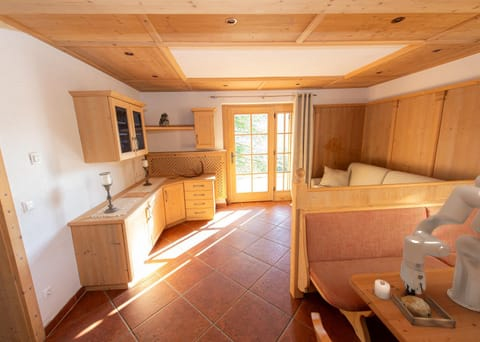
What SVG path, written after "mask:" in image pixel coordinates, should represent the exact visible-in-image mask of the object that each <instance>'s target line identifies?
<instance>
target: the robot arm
mask: <svg viewBox="0 0 480 342" xmlns="http://www.w3.org/2000/svg"><path fill="white" fill-rule="evenodd" d="M475 209H477V212H476V214H475V215H474V218H473V219H472V220H471V222H470V229H471V231H473V232H474V233H476V234H477V235H479V236H480V175H477V177H476V178H475V180H474V186H473V185H467V184H466V185H465V184H462V185H458V186H456V187H454V188H453V190H452V191H451V192H450V194H449V196H448V197H447V199H446V200H445V202H444V204H443V205H442V206H441V208H440V210H439V211H438V212H437V213H435V214H433V215H430V216H428V217H426V218H424V219H423V220H421V221H420V222H418V224H417V226H416V227H415V229H414V230H413V232H412V234H411V235H406V236H404V238H403V246H402V247H403V248H402V258H401V259H402V260H401V264H400V270H399V275H400V279H401V280H402V281H403V282H404V287H405V288H404V289H405V293H404V297H405V296H408V295H409V296H416V294H417V295H418V296H419V295H420V296H421V295H422V291H423V292H426V288H427V284H426V283H427V278H426V272H425V270H424V268H425V257H426V256H428V257H436V258H445V257H448V256H449V255H450V254H451V253H452V252H451V251H452V250H451V246H450V245H449V244H447V243H446V242H445V241H443V240H442V239H439V238H437V237H436V236H434V235H433V234H432V233H433V232H434V230H436V229H437V228H439V227H442V226H446V225H453V226H454V225H457V226H458V225H459V226H461V225H464V224H465V223H466V222H467V220H468V219H469V217H470V215H472V213H473V212H474V210H475ZM454 249H455V267H454V273H453V281H452V288H448V289H447V290H446V294H447V296H448V298H449V299H450V300H452V301H453V302H454V303H455V304H457V305H459V306H461V307H463V308H465V309H469V310H471V311H474V312H480V237H477V236H476V235H471V234H461V235H459V236H458V237H457V238H456V239H455V241H454Z"/></svg>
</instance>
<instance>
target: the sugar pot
mask: <svg viewBox="0 0 480 342" xmlns="http://www.w3.org/2000/svg"><path fill="white" fill-rule="evenodd" d="M390 291H391V284H389V283H388V282H387V281H385V280H382V279H375V280H374V295H375V296H376V297H377V298H379V299H381V300H383V301H384V300H385V301H386V300H389V299H390V293H391V292H390Z"/></svg>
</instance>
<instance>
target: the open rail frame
mask: <svg viewBox="0 0 480 342" xmlns="http://www.w3.org/2000/svg"><path fill="white" fill-rule="evenodd" d="M390 298H391V300H392V301H393V302H394V304H395V305H396V307H397V308H398V309H399V310H400V311H401V313H402V314H403V315H404V316H405V318H406V319H407V320H408V321H409V323H410V324H411V325H412V326H419V325H420V326H421V327H423V326H424V327H434V326H436V327H437V328H447V329H448V328H450V329H455V328H456V326H457V325H456V323H457V321H456V320H455V319H454V318H453V317H452V316H451V315H450V314H449V313H448V312H447V311H446V310H444V308H442V307H441V306H440V304H438V303H437V302H436V301H435V300H434V299H433V298H432V297H431V296H430V295H429V294H425V302H426V303H427V304H428V305H429V306H430V307H431V308H432V309H433V310H435V312H436V313H438V314H439V315H440V317H441V318H436V317H435V318H434V317H433V318H432V317H431V318H430V317H429V318H419V317H413V316H412V314H411V313H410V312H409V311H408V310H407V308H406V307H405V306H404V305H403V304H402V302H401V299H400V298H398V297H397V295H396V294H395V293H394V292H391V297H390Z"/></svg>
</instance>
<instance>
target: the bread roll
mask: <svg viewBox="0 0 480 342" xmlns="http://www.w3.org/2000/svg"><path fill="white" fill-rule="evenodd" d="M400 298H401V299H400V301H401V302H402V304H403V305H404V306H405V307H406V308H407V310H408V311H409V312H410V313H411V314H412V316H413V317H419V318H430V317H431V315H432V309H431V306H430V304H429V303H428V302H427V301H426V300H424V299H423V298H421V297H417V296H416V295H415V296H409V295H408V296H405V295H404V296H403V297H400Z"/></svg>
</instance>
